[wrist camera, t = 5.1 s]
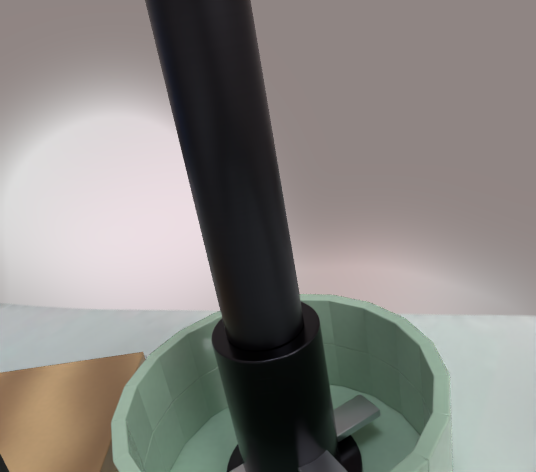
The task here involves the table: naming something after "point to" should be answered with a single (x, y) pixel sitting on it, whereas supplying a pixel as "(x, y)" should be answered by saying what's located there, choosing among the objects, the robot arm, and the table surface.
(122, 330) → the table surface
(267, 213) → the blade
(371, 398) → the processor bowl
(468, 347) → the table surface
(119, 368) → the cutting board
